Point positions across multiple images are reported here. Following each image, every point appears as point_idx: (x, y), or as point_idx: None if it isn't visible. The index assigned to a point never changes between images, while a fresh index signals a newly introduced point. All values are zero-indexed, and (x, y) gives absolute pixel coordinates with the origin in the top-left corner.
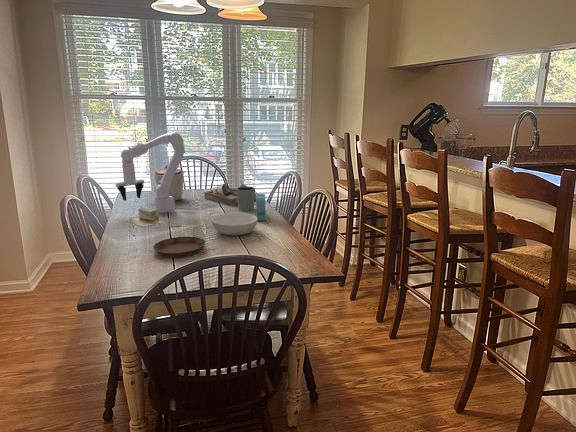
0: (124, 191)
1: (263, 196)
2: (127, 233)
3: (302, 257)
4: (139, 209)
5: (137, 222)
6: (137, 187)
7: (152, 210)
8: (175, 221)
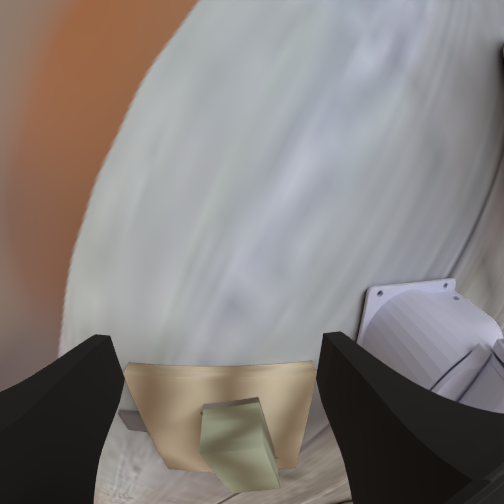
0: (76, 493)
1: None
2: (118, 450)
3: None
4: (202, 457)
5: (171, 435)
6: (383, 498)
7: (252, 487)
8: (326, 447)
